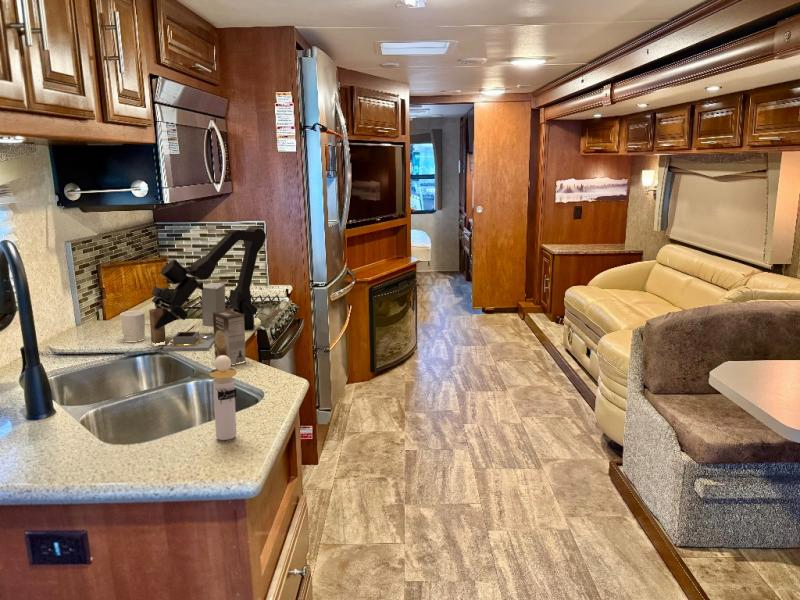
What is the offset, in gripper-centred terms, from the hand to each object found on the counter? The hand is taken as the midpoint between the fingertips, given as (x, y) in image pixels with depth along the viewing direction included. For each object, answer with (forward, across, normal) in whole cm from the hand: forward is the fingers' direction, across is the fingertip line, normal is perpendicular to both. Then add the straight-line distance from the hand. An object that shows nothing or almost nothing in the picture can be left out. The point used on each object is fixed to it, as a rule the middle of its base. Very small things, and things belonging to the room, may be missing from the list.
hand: (153, 327), depth 205 cm
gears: (-4, +6, +12) cm, 14 cm away
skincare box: (-16, -15, +26) cm, 33 cm away
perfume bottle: (+15, +84, -6) cm, 85 cm away
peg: (+4, 0, +6) cm, 7 cm away
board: (-3, +6, +12) cm, 14 cm away
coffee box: (-4, +33, +13) cm, 35 cm away
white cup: (+7, -11, +3) cm, 13 cm away
